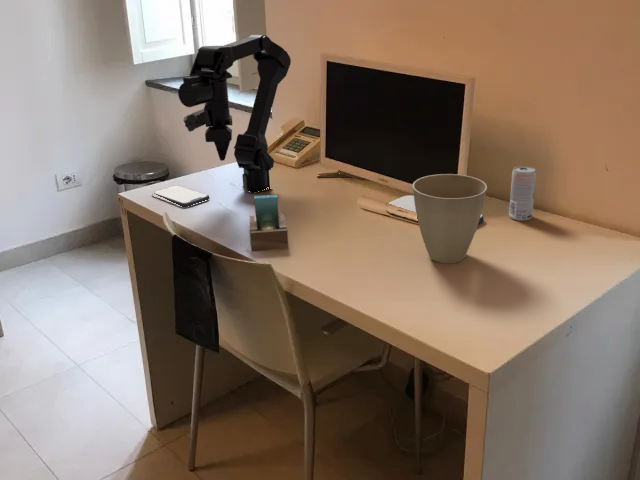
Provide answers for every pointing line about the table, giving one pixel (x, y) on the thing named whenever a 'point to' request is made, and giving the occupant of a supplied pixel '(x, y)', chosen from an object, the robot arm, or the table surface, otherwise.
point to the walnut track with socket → (269, 236)
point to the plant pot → (448, 213)
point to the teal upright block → (267, 212)
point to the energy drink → (522, 193)
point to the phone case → (182, 195)
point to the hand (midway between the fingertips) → (222, 160)
